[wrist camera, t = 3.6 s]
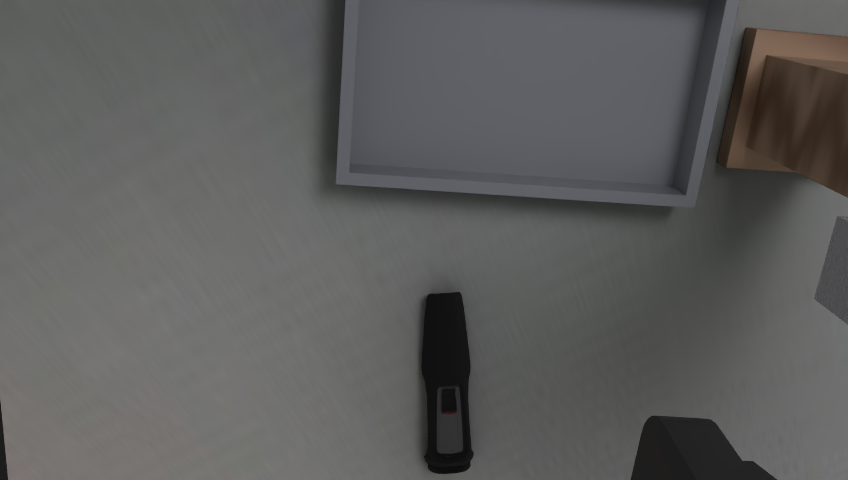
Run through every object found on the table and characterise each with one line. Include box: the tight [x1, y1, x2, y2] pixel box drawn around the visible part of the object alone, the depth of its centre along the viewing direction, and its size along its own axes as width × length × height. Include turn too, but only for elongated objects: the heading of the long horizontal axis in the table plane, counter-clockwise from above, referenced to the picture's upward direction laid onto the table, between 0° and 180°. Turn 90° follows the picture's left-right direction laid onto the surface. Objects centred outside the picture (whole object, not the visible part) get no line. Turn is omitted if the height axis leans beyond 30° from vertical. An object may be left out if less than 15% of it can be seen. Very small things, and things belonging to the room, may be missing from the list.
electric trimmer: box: [422, 292, 474, 474], centre depth 57 cm, size 4×16×3 cm, turn 2°
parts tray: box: [336, 0, 740, 208], centre depth 49 cm, size 14×24×3 cm, turn 85°
